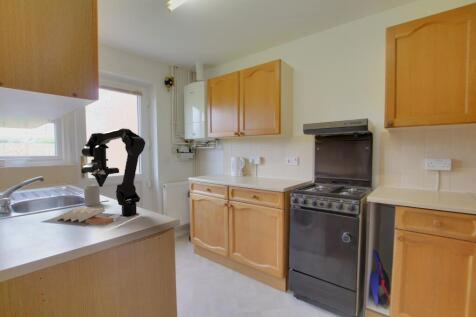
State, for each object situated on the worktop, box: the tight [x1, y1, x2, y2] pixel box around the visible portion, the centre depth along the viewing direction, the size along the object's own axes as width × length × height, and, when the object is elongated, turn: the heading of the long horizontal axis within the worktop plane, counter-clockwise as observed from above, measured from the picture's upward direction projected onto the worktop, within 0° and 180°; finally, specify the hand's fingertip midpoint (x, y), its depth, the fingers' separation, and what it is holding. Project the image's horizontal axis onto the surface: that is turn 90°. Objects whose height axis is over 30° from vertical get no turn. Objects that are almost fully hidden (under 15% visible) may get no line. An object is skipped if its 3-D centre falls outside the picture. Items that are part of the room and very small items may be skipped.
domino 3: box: [71, 207, 98, 222], centre depth 104 cm, size 2×5×10 cm
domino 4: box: [78, 207, 106, 222], centre depth 103 cm, size 2×5×10 cm
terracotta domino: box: [86, 216, 114, 226], centre depth 102 cm, size 2×5×10 cm
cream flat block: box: [63, 207, 91, 221], centre depth 105 cm, size 2×5×10 cm
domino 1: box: [55, 206, 84, 220], centre depth 106 cm, size 2×5×10 cm
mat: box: [41, 212, 116, 227], centre depth 108 cm, size 24×18×1 cm
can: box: [83, 183, 101, 207], centre depth 133 cm, size 8×8×12 cm
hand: (100, 186), depth 121 cm, fingers closed
